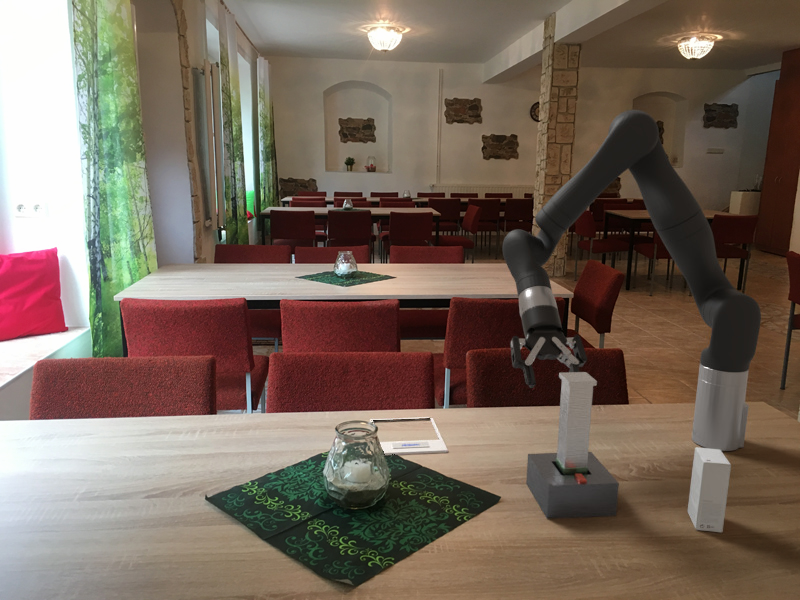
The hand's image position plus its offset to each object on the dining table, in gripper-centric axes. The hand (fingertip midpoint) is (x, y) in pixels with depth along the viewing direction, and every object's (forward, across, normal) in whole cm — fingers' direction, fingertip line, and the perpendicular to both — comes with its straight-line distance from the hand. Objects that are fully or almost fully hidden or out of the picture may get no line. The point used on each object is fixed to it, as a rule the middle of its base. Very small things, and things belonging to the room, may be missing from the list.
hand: (554, 385), depth 121 cm
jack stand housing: (+20, 0, +4) cm, 21 cm away
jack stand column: (+16, 0, 0) cm, 17 cm away
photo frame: (0, -26, +25) cm, 36 cm away
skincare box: (+27, +20, -2) cm, 33 cm away
